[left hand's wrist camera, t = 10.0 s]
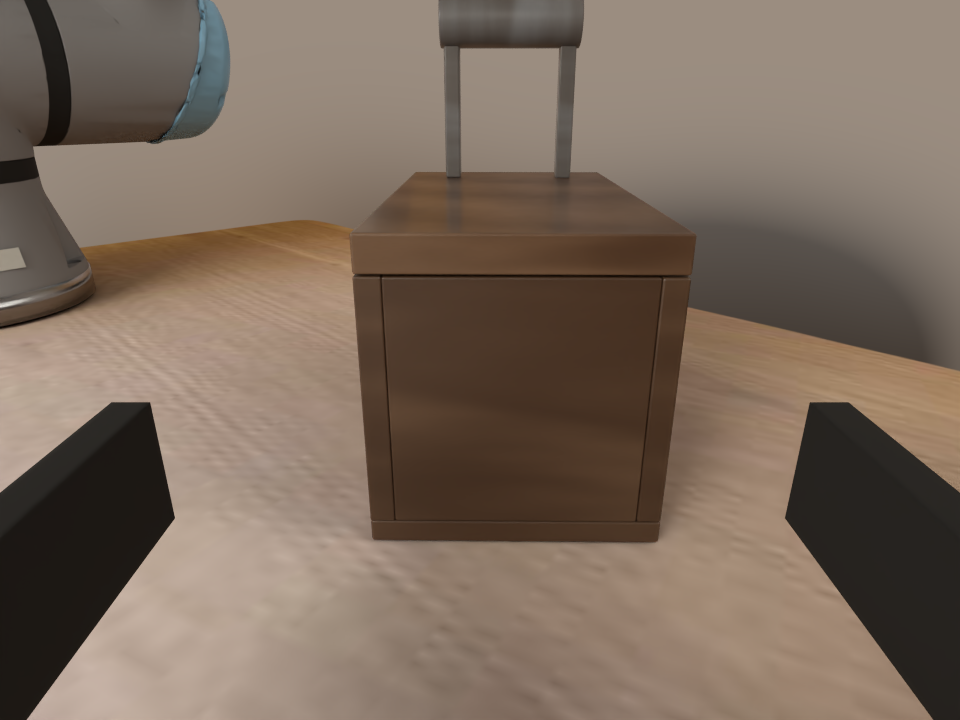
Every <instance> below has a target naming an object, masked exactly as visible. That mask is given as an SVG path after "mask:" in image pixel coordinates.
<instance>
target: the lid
mask: <svg viewBox="0 0 960 720" xmlns="http://www.w3.org/2000/svg"><path fill="white" fill-rule="evenodd" d="M583 20H584V0H439V37H440V46H441V48H444V82H445V135H446V172H416V173H414V174H413V175H412V176H411V177H410V178H409V179H408V180H407V181H406V182H405V183H404V184H403V185H401V186H400V187H399V188H398V189H397V190H396V191H395V192H394V193H393V194H392V195H391V196H390V197H389V198H388V199H386V200H385V201H384V202H383V203H382V204H381V205H380V206H379V207H378V208H377V209H376V210H375V211H374V212H372V213H371V214H370V215H369V216H368V217H367V218H366V219H365V220H364V221H363V222H362V223H361V224H360V225H359V226H357V227H356V228H355V229H354V230H353V231H352V232H351V233H350V248H351V261H352V272H353V274H392V275H685V276H688V275H691V274H692V268H693V260H694V252H695V244H696V237H697V236H696V234H695V233H693V232H692V231H690V230H689V229H687V228H685V227H684V226H682V225H681V224H679V223H677V222H676V221H674V220H673V219H671V218H669V217H668V216H666V215H664V214H663V213H661V212H660V211H658V210H657V209H655V208H653V207H652V206H650V205H649V204H647V203H645V202H644V201H642V200H640V199H639V198H637V197H636V196H634V195H632V194H631V193H629V192H628V191H626V190H624V189H623V188H621V187H620V186H618V185H616V184H615V183H613V182H612V181H610V180H608V179H607V178H605V177H604V176H602V175H600V174H599V173H597V172H596V173H595V172H594V173H593V172H592V173H591V172H570V162H571V143H572V124H573V104H574V85H575V65H576V48H579V46H580V43H581V38H582V31H583ZM460 48H559V68H558V92H557V115H556V139H555V162H554V172H461V96H460Z"/></svg>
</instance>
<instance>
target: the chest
mask: <svg viewBox="0 0 960 720" xmlns="http://www.w3.org/2000/svg"><path fill="white" fill-rule="evenodd" d="M690 283H691V279H690V277H688V276H685V275H392V274H355V275H354V276H353V291H354V304H355V317H356V330H357V343H358V356H359V369H360V383H361V396H362V409H363V422H364V435H365V448H366V461H367V475H368V488H369V501H370V514H371V520H372V521H371V524H372V537H373V539H374V540H479V541H603V542H657V541H658V535H659V527H660V522H659V521H660V519H661V511H662V504H663V496H664V488H665V480H666V472H667V464H668V456H669V449H670V441H671V433H672V425H673V417H674V409H675V401H676V393H677V386H678V378H679V370H680V362H681V354H682V346H683V338H684V331H685V323H686V315H687V307H688V299H689V291H690Z"/></svg>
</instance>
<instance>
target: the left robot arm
mask: <svg viewBox="0 0 960 720" xmlns="http://www.w3.org/2000/svg"><path fill="white" fill-rule="evenodd" d="M174 519H175V516H174V512H173V507H172V502H171V498H170V493H169V488H168V484H167V479H166V474H165V470H164V465H163V460H162V456H161V451H160V446H159V442H158V437H157V432H156V428H155V423H154V419H153V414H152V409H151V405H150V402H112V403H110V404H109V405H108V406H107V407H105V408H104V409H103V410H102V411H100V412H99V413H98V414H97V415H96V416H94V417H93V418H92V419H91V420H89V421H88V422H87V423H86V424H84V425H83V426H82V427H81V428H79V429H78V430H77V431H76V432H75V433H73V434H72V435H71V436H70V437H68V438H67V439H66V440H65V441H63V442H62V443H61V444H60V445H59V446H57V447H56V448H55V449H54V450H52V451H51V452H50V453H49V454H47V455H46V456H45V457H44V458H42V459H41V460H40V461H39V462H38V463H36V464H35V465H34V466H33V467H31V468H30V469H29V470H28V471H26V472H25V473H24V474H23V475H22V476H20V477H19V478H18V479H17V480H15V481H14V482H13V483H12V484H10V485H9V486H8V487H7V488H6V489H4V490H3V491H2V492H1V493H0V720H27V718H28V717H29V716H30V714H31V713H32V712H33V710H34V709H35V708H36V706H37V705H38V704H39V702H40V701H41V699H42V698H43V697H44V695H45V694H46V693H47V691H48V690H49V689H50V687H51V686H52V684H53V683H54V682H55V680H56V679H57V678H58V676H59V675H60V674H61V672H62V671H63V670H64V668H65V667H66V665H67V664H68V663H69V661H70V660H71V659H72V657H73V656H74V655H75V653H76V652H77V651H78V649H79V648H80V646H81V645H82V644H83V642H84V641H85V640H86V638H87V637H88V636H89V634H90V633H91V631H92V630H93V629H94V627H95V626H96V625H97V623H98V622H99V621H100V619H101V618H102V617H103V615H104V614H105V612H106V611H107V610H108V608H109V607H110V606H111V604H112V603H113V602H114V600H115V599H116V598H117V596H118V595H119V593H120V592H121V591H122V589H123V588H124V587H125V585H126V584H127V583H128V581H129V580H130V579H131V577H132V576H133V574H134V573H135V572H136V570H137V569H138V568H139V566H140V565H141V564H142V562H143V561H144V559H145V558H146V557H147V555H148V554H149V553H150V551H151V550H152V549H153V547H154V546H155V545H156V543H157V542H158V540H159V539H160V538H161V536H162V535H163V534H164V532H165V531H166V530H167V528H168V527H169V526H170V524H171V523H172V521H173V520H174ZM785 519H786V520H787V521H788V523H789V524H790V526H791V527H792V528H793V530H794V531H795V532H796V534H797V535H798V536H799V538H800V539H801V540H802V542H803V543H804V545H805V546H806V547H807V549H808V550H809V551H810V553H811V554H812V555H813V557H814V558H815V559H816V561H817V562H818V564H819V565H820V566H821V568H822V569H823V570H824V572H825V573H826V574H827V576H828V577H829V579H830V580H831V581H832V583H833V584H834V585H835V587H836V588H837V589H838V591H839V592H840V593H841V595H842V596H843V598H844V599H845V600H846V602H847V603H848V604H849V606H850V607H851V608H852V610H853V611H854V612H855V614H856V615H857V617H858V618H859V619H860V621H861V622H862V623H863V625H864V626H865V627H866V629H867V630H868V632H869V633H870V634H871V636H872V637H873V638H874V640H875V641H876V642H877V644H878V645H879V646H880V648H881V649H882V651H883V652H884V653H885V655H886V656H887V657H888V659H889V660H890V661H891V663H892V664H893V665H894V667H895V668H896V670H897V671H898V672H899V674H900V675H901V676H902V678H903V679H904V680H905V682H906V683H907V684H908V686H909V687H910V689H911V690H912V691H913V693H914V694H915V695H916V697H917V698H918V699H919V701H920V702H921V704H922V705H923V706H924V708H925V709H926V710H927V712H928V713H929V714H930V716H931V717H932V718H933V720H960V493H959V492H958V491H957V490H956V489H954V488H953V487H952V486H951V485H950V484H948V483H947V482H946V481H945V480H943V479H942V478H941V477H940V476H938V475H937V474H936V473H935V472H934V471H932V470H931V469H930V468H929V467H927V466H926V465H925V464H924V463H922V462H921V461H920V460H919V459H917V458H916V457H915V456H914V455H913V454H911V453H910V452H909V451H908V450H906V449H905V448H904V447H903V446H901V445H900V444H899V443H898V442H897V441H895V440H894V439H893V438H892V437H890V436H889V435H888V434H887V433H885V432H884V431H883V430H882V429H881V428H879V427H878V426H877V425H876V424H874V423H873V422H872V421H871V420H869V419H868V418H867V417H866V416H864V415H863V414H862V413H861V412H860V411H858V410H857V409H856V408H855V407H853V406H852V405H851V404H850V403H848V402H810V405H809V409H808V414H807V418H806V423H805V428H804V432H803V437H802V442H801V446H800V451H799V456H798V460H797V465H796V470H795V474H794V479H793V484H792V488H791V493H790V498H789V502H788V507H787V512H786V516H785Z"/></svg>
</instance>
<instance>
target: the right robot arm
mask: <svg viewBox="0 0 960 720" xmlns="http://www.w3.org/2000/svg"><path fill="white" fill-rule="evenodd" d="M229 77H230V51H229V43H228V37H227V32H226V28H225V25H224V22H223V19H222V16H221V14H220V12H219V10H218V8H217V7H216V5H215V4H214V3H213V2H212V1H210V0H0V326H5V325H10V324H15V323H19V322H23V321H27V320H31V319H35V318H39V317H42V316H46V315H49V314H52V313H55V312H58V311H61V310H64V309H67V308H69V307H72V306H74V305H76V304H78V303H80V302H82V301H84V300H86V299H87V298H89V297H90V296H91V295H92V294H93V293H94V291H95V284H94V280H93V275H92V271H91V267H90V263H89V262H88V261H87V259H86V258H85V256H84V255H83V253H82V251H81V250H80V248H79V247H78V245H77V243H76V242H75V240H74V239H73V237H72V235H71V234H70V232H69V231H68V229H67V227H66V226H65V224H64V223H63V221H62V219H61V218H60V216H59V215H58V213H57V212H56V210H55V208H54V207H53V205H52V204H51V202H50V200H49V199H48V197H47V196H46V194H45V192H44V190H43V187H42V184H41V181H40V177H39V173H38V169H37V165H36V161H35V157H34V150H33V146H54V145H78V144H102V143H126V142H147V143H151V144H158V143H161V142H163V141H165V140H175V139H184V138H192V137H196V136H198V135H200V134H202V133H204V132H205V131H206V130H208V129H209V128H210V127H211V126H212V125H213V123H214V122H215V121H216V119H217V118H218V116H219V114H220V112H221V110H222V107H223V105H224V100H225V95H226V92H227V90H228V85H229Z"/></svg>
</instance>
